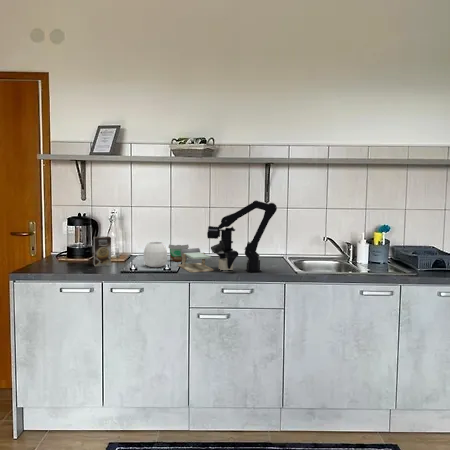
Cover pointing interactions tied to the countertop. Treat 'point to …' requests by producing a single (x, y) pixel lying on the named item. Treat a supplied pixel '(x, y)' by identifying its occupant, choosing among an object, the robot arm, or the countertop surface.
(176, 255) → the food container
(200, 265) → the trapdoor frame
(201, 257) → the trapdoor
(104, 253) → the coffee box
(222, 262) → the beige cube
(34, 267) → the countertop surface
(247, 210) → the robot arm
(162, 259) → the white round vase
